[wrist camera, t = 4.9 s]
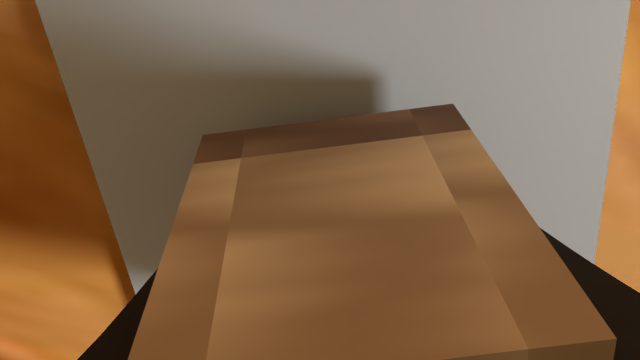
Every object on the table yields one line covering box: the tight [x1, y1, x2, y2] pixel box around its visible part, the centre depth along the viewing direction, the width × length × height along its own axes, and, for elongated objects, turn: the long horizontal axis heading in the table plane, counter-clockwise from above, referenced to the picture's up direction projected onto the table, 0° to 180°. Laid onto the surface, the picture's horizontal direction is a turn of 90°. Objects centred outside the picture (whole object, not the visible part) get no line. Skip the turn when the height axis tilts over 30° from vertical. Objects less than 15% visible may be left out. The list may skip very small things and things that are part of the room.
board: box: [35, 0, 631, 295], centre depth 13 cm, size 11×19×1 cm, turn 7°
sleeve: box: [128, 104, 617, 360], centre depth 9 cm, size 5×5×6 cm
